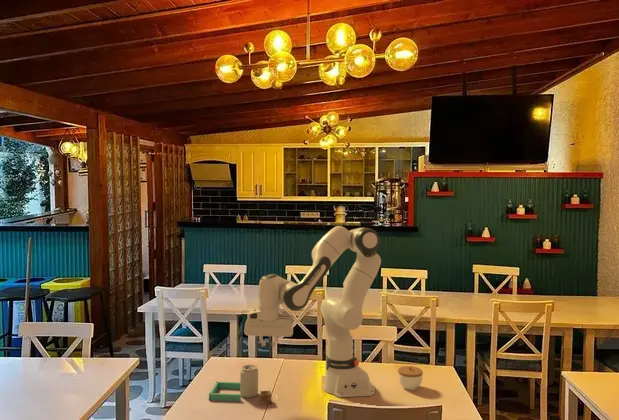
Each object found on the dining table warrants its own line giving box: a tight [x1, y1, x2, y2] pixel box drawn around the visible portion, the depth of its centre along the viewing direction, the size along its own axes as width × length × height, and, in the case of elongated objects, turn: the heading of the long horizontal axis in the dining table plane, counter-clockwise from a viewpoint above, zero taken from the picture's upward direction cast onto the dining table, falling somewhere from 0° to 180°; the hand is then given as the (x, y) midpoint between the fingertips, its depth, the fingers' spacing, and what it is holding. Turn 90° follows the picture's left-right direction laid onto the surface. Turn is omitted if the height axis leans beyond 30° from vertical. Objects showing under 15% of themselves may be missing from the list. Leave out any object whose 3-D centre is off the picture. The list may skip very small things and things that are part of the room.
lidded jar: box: [397, 365, 424, 391], centre depth 221 cm, size 11×11×9 cm
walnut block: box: [259, 390, 272, 406], centre depth 204 cm, size 4×4×4 cm
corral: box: [208, 381, 242, 402], centre depth 212 cm, size 13×13×2 cm
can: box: [239, 364, 259, 399], centre depth 211 cm, size 8×8×12 cm
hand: (268, 346), depth 210 cm, fingers open, 3 cm apart
